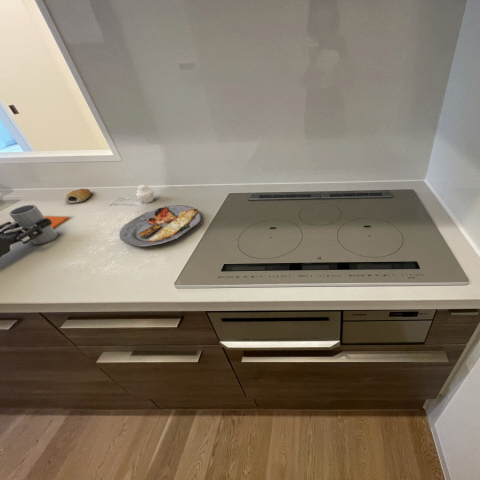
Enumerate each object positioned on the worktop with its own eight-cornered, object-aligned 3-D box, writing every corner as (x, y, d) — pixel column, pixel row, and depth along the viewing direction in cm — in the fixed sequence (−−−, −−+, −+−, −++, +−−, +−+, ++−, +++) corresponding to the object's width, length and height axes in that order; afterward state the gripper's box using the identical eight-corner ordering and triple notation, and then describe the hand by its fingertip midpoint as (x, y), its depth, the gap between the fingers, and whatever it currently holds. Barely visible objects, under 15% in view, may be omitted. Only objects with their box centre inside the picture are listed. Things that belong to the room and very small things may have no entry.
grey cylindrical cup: (28, 243, 85) (3, 214, 79) (45, 232, 90) (22, 204, 83) (46, 244, 85) (22, 215, 78) (62, 233, 90) (41, 204, 83)
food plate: (166, 205, 104) (163, 197, 101) (215, 215, 97) (213, 207, 95) (106, 242, 85) (100, 233, 83) (162, 257, 78) (158, 248, 76)
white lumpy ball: (136, 202, 106) (129, 186, 102) (151, 196, 110) (144, 180, 106) (145, 206, 104) (137, 189, 99) (160, 199, 108) (153, 183, 104)
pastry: (79, 193, 113) (74, 185, 111) (96, 192, 114) (91, 184, 112) (66, 204, 106) (60, 195, 104) (84, 203, 107) (78, 194, 104)
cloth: (23, 231, 91) (22, 230, 90) (46, 217, 98) (45, 216, 98) (47, 232, 90) (46, 230, 90) (69, 218, 98) (68, 216, 97)
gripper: (-14, 244, 69) (51, 211, 82) (-52, 237, 72) (16, 207, 85) (7, 265, 74) (66, 231, 87) (-30, 258, 76) (32, 226, 89)
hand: (41, 219), depth 86 cm, fingers closed on grey cylindrical cup, 6 cm apart
